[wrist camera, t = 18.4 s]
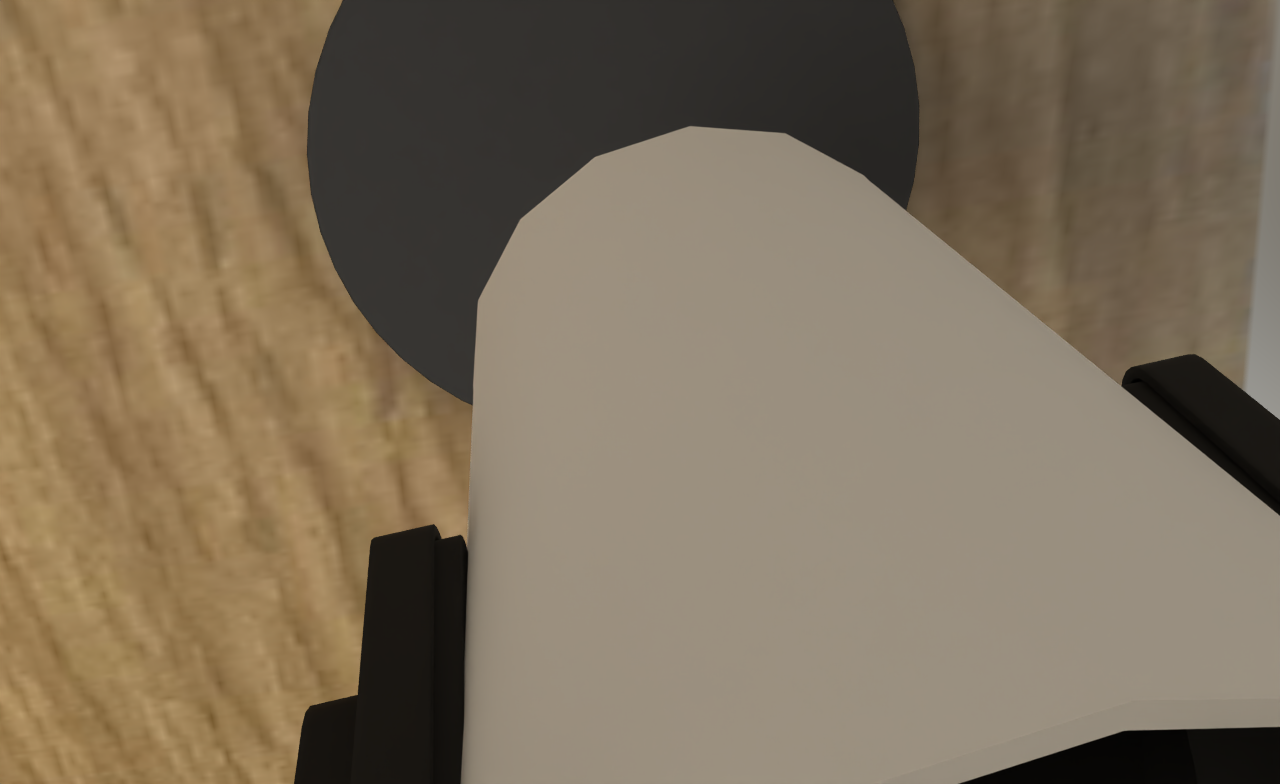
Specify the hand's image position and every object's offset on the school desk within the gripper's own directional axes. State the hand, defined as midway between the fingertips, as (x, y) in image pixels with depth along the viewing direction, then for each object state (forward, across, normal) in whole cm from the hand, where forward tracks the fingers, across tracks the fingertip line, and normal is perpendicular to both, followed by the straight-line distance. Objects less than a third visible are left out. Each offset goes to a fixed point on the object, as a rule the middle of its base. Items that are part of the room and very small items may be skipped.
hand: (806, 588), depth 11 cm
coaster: (+13, 0, 0) cm, 13 cm away
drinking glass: (+5, 0, 0) cm, 5 cm away
